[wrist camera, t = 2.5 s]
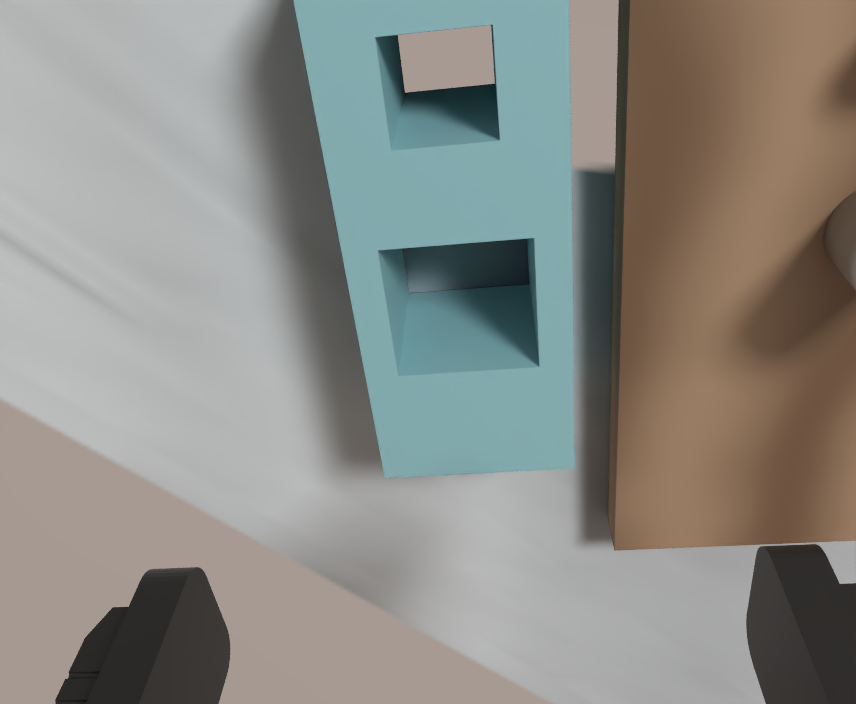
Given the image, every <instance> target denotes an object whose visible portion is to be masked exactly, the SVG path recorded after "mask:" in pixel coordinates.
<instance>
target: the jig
mask: <svg viewBox="0 0 856 704" xmlns="http://www.w3.org/2000/svg"><path fill="white" fill-rule="evenodd" d="M617 65H618V66H617V67H618V68H617V112H616V113H617V114H616V159H615V206H614V253H613V301H612V348H611V395H610V443H609V490H608V520H609V525H610V530H611V535H612V540H613V545H614V550H636V549H661V548H685V547H709V546H734V545H758V544H783V543H807V542H831V541H856V0H619V16H618V64H617Z"/></svg>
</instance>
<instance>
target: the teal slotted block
mask: <svg viewBox="0 0 856 704" xmlns="http://www.w3.org/2000/svg"><path fill="white" fill-rule="evenodd" d="M293 1H294V7H295V12H296V17H297V22H298V27H299V33H300V38H301V43H302V48H303V54H304V59H305V64H306V69H307V74H308V80H309V85H310V90H311V95H312V101H313V106H314V111H315V116H316V121H317V127H318V132H319V137H320V142H321V148H322V153H323V158H324V163H325V168H326V174H327V179H328V184H329V189H330V195H331V200H332V205H333V210H334V216H335V221H336V226H337V231H338V236H339V242H340V247H341V252H342V257H343V263H344V268H345V273H346V278H347V283H348V289H349V294H350V299H351V304H352V310H353V315H354V320H355V325H356V330H357V336H358V341H359V346H360V351H361V357H362V362H363V367H364V372H365V377H366V383H367V388H368V393H369V398H370V404H371V409H372V414H373V419H374V424H375V430H376V435H377V440H378V445H379V451H380V456H381V461H382V466H383V471H384V477H385V478H397V477H416V476H435V475H455V474H474V473H494V472H513V471H533V470H552V469H572V468H575V455H574V365H573V276H572V186H571V106H570V105H571V102H570V99H571V98H570V18H569V17H570V7H569V0H293ZM484 25H491V26H492V42H493V57H494V58H493V59H494V74H495V84H488V85H479V86H470V87H469V86H468V87H458V88H448V89H438V90H428V91H418V92H409V93H405V91H404V84H403V75H402V67H401V59H400V52H399V43H398V35H399V34H410V33H419V32H428V31H437V30H447V29H456V28H465V27H474V26H484ZM514 239H527V244H528V266H529V284H528V285H514V286H501V287H487V288H474V289H460V290H447V291H434V292H420V293H409V291H408V284H407V277H406V270H405V263H404V256H403V249H402V248H414V247H427V246H439V245H452V244H464V243H477V242H489V241H502V240H514Z"/></svg>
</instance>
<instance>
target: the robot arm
mask: <svg viewBox="0 0 856 704" xmlns="http://www.w3.org/2000/svg"><path fill="white" fill-rule="evenodd" d="M746 626H747V638H748V645H749V650H750V655H751V659H752V662H753V665H754V669H755V672H756V675H757V678H758V681H759V684H760V687H761V690H762V693H763V696H764V699H765V702H766V704H856V583H854V584H839V582H838V579H837V577H836V575H835V573H834V571H833V569H832V567H831V565H830V563H829V560H828V558H827V556H826V554H825V553H824V551H823V550H822V548H821V547H820V546H818V545H816V544H811V545H786V546H761V547H759V549H758V551H757V554H756V560H755V566H754V572H753V579H752V585H751V591H750V598H749V604H748V610H747V619H746ZM229 660H230V640H229V634H228V630H227V627H226V625H225V622H224V620H223V617H222V614H221V612H220V610H219V607H218V604H217V602H216V599H215V597H214V594H213V592H212V589H211V587H210V584H209V582H208V579H207V577H206V575H205V573H204V571H203V570H202V569H201V568H198V567H196V568H169V569H151V570H149V571H147V572H146V573H145V574H144V576H143V577H142V579H141V581H140V583H139V585H138V588H137V590H136V592H135V594H134V596H133V598H132V601H131V603H130V605H129V607H114V608H112V609H111V610H110V611H109V612H108V614H107V615H106V616H105V617H104V618H103V619H102V620H101V621H100V622H99V623H98V624H97V625H96V627H95V628H94V629H93V630H92V631H91V632H90V633H89V634H88V635H87V637H86V638H85V639H84V641H83V644H82V646H81V648H80V650H79V652H78V654H77V656H76V658H75V660H74V662H73V664H72V667H71V668H70V671H69V678H68V679H65V681H64V683H63V685H62V687H61V689H60V691H59V694H58V695H57V698H56V700H55V701H56V704H218V703H219V700H220V696H221V693H222V689H223V686H224V683H225V679H226V676H227V672H228V667H229Z"/></svg>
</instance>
